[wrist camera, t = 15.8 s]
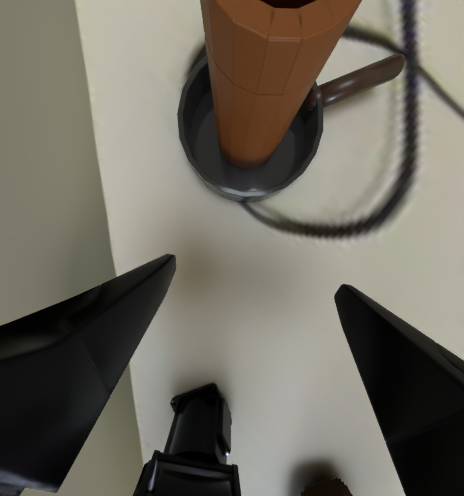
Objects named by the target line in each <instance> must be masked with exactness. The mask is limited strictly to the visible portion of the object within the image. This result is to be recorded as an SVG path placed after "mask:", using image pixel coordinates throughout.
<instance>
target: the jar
mask: <svg viewBox="0 0 464 496" xmlns="http://www.w3.org/2000/svg"><path fill="white" fill-rule="evenodd" d="M361 1H362V0H200V2H201V10H202V18H203V26H204V32H205V42H206V50H207V57H208V65H209V73H210V81H211V88H212V96H213V104H214V112H215V119H216V127H217V135H218V142H219V145H220V149H221V151H222V154H223V155H224V157H225V158H226V159H227V160H228V161H229V162H230V163H231V164H232V165H234V166H236V167H238V168H242V169H253V168H257V167H259V166H261V165H263V164H264V163H265V162H267V161H268V159H269V158H270V157H271V156H272V155H273V153H274V151H275V150H276V148H277V146H278V144H279V143H280V141H281V139H282V138H283V136H284V134H285V132H286V131H287V129H288V127H289V125H290V124H291V122H292V120H293V119H294V117H295V115H296V113H297V112H298V110H299V108H300V106H301V105H302V103H303V101H304V100H305V98H306V96H307V94H308V93H309V91H310V89H311V87H312V86H313V84H314V82H315V81H316V79H317V77H318V75H319V74H320V72H321V70H322V68H323V67H324V65H325V63H326V61H327V60H328V58H329V56H330V55H331V53H332V51H333V49H334V48H335V46H336V44H337V42H338V41H339V39H340V37H341V36H342V34H343V32H344V30H345V29H346V27H347V25H348V23H349V22H350V20H351V18H352V17H353V15H354V13H355V11H356V10H357V8H358V6H359V4H360V3H361Z"/></svg>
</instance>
